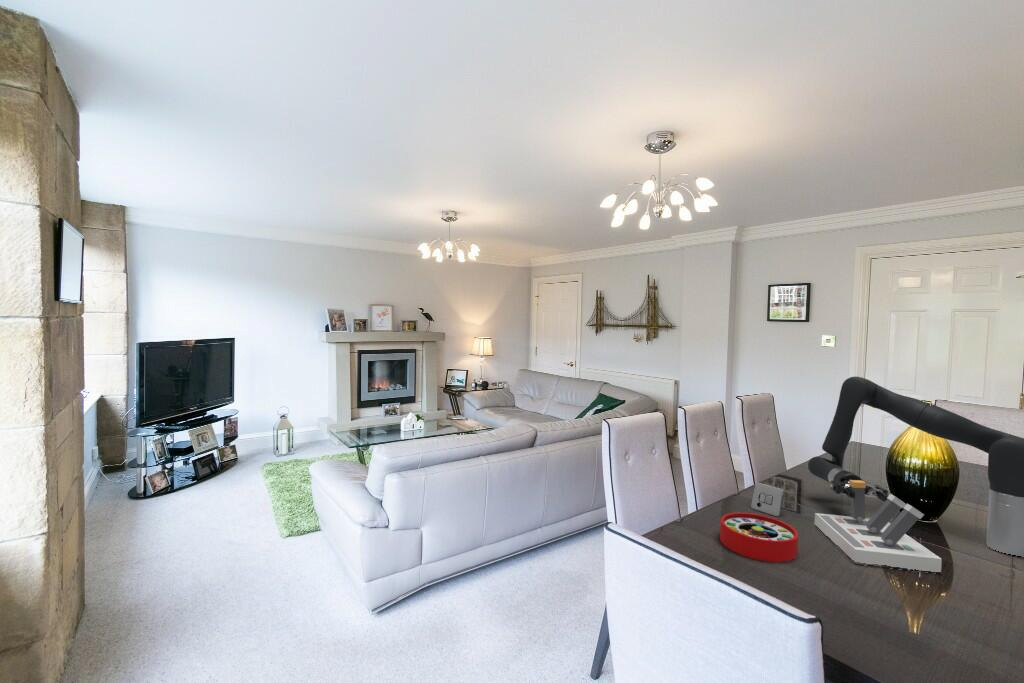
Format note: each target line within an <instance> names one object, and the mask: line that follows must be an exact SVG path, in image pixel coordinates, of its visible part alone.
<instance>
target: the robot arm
mask: <svg viewBox="0 0 1024 683" xmlns="http://www.w3.org/2000/svg"><path fill="white" fill-rule="evenodd" d="M837 401H838V402H837V407H836V408H835V412H834V413H835V414H834V416H833V418H832V421H831V424H830V427H829V429H828V430H827V434H826V436H825V438H824V441H823V444H822V445H821V449H822V451H824V452H825V453H827V454H829V455H830V456H831V457H832V458H831V459H827V458H825V457H822V456H814V457H812V458H810V459H809V460H808V461H807V467H808V470H809V472H810V473H811V474H812V475H813V476H815V477H817V478H819V479H822V480H823V481H826V482H827V483H828V484H830V488H829V489H830V490H831V491H833V492H834V493H835V494H838V495H840V494H841V493H842V495H843V496H847V497H849V498H850V499H851V498H855V491H853V490H851V488H850V485H849V480H862V481H863V479H862V478H861V477H860V475H859V476H858V475H857V474H855V473H854V472H852V471H850V470H848V469H846V468H844V467H843V465H844V456H845V453H846V451H847V448H848V445H849V444H850V441H851V439H852V434H853V430H854V423H855V418H856V415H857V414H858V411H859V409H860V407H861V406H862V405H865V406H869V407H872V408H874V409H878V410H881V411H883V412H886V413H888V414H889V415H891V416H893V417H895V418H896V419H898V420H899V421H900V422H903V423H905V424H906V425H909V426H911V427H913V428H915V429H917V430H920V431H922V432H925V433H926V434H929V435H932V436H935V437H938V438H941V439H944V440H949V441H952V442H956V443H961V444H964V445H966V446H967V445H968V446H970V447H972V448H975V449H978V450H980V451H983V452H984V453H987V454H988V457H987V459H988V460H987V479H988V483H989V488H988V489H989V490H988V509H987V510H988V511H987V513H988V514H987V527H986V538H985V539H986V546H987V548H989V547H990V549H991V550H994V551H995V550H996V552H998V551H999V552H998V553H1001V552H1002V553H1001V554H1004V553H1006V554H1005V555H1008V554H1011V555H1010V556H1012V555H1016V556H1015V557H1017V556H1021V557H1020V558H1024V437H1021V436H1018V435H1015V434H1011V433H1008V432H1003V431H1001V430H997V429H994V428H991V427H988V426H985V425H983V424H979V423H978V422H975V421H973V420H971V419H969V418H966V417H965V416H962V415H959V414H958V413H954V412H953V411H950V410H948V409H946V408H942V407H941V406H938V405H935V404H933V403H930V402H928V401H927V402H926V401H924V400H920V399H918V398H914V397H910V396H907V395H902V394H898V393H896V392H894V391H892V390H890V389H887V388H885V387H883V386H881V385H879V384H878V383H875V382H873V381H872V380H869V379H867V378H864V377H862V376H850V377H848V378H847V379H845V380H844V381H843V383H842V385H841V387H840V392H839V397H838V400H837ZM923 401H924V402H923ZM930 404H931V406H930ZM863 482H864V481H863ZM888 496H889V490H887V489H885V488H883V487H881V486H879V485H877V484H874V485H871V484H866V488H865V497H868V498H870V499H871V498H876V499H879V500H880V501H881V502H883V503H884V502H885V501H886V500H887V499H888V498H887V497H888Z"/></svg>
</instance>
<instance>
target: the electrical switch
mask: <svg viewBox="0 0 1024 683" xmlns="http://www.w3.org/2000/svg"><path fill="white" fill-rule="evenodd" d="M752 494H753V495H752V498H751V499H752V500H751V504H750V507H751V509H752V510H756V511H758V512H759V511H760V512H762V513H765V514H767V515H771V516H773V517H777V516H778V517H779V516H780V515H781V514H782V508H783V503H784V498H785V491H784V489H783V488H780V487H775V486H773V485H768V484H765V483H762V482H755V485H754V489H753V493H752Z"/></svg>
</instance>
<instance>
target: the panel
mask: <svg viewBox="0 0 1024 683" xmlns="http://www.w3.org/2000/svg"><path fill="white" fill-rule="evenodd" d="M870 518H871V517H870ZM870 518H869V517H865V519H863V521H862V522H858V521H857V520H856V519H854V518H852V517H851V515H850V516H848V515H838V514H829V513H827V514H826V513H818V512H817V513H816V512H815V513H814V526H815V525H816V526H817V527H818V528H819V529H820V530H821V531H822V532H823V533H824V534H825V535H826V536H828V537H829V538H830V539H831V540H832V541H833V542H834V543H835V544H836V545H838V546H839V547H840V548H841V549H842V550H843V551H844V552H845V553H846V554H847V555H848V556H849V557H850V558H851V559H852V560H854V561H855V562H860V563H866V564H878V565H887V566H891V567H900V568H910V569H916V570H922V571H931V572H941V573H942V558H941V557H940V556H938V555H937V554H935V553H933V552H932V551H931V550H929V548H926V547H925V546H924V545H923V544H921V543H919V542H918V541H916V540H915V539H914V538H912V537H911V536H909V535H907V534H906V533H905V534H904V536H903V537H902V538H901V539H900V540H899V541H898V542H897V543H896V544H895V545H888V544H886V543H885V542H884V541H883V540H882V539H881V537H882V536H880V535H881V534H882V533H883V532H884V531H885V530H886V528H887V527H888V526H889V525H890V524H891V523H892V522H890V521H889V522H888V523H887V524H886V525H885V527H884V528H883V529H882V530H881V531H880V532H879V533H877V532H876V533H872V532H871V531H870V530H869V529H867V527H866V526H867V525H866V523H867V521H868V520H869V519H870ZM816 526H815V527H816ZM817 527H816V528H817ZM818 528H817V529H818ZM819 529H818V530H819ZM820 530H819V531H820ZM821 531H820V532H821ZM822 532H821V533H822ZM823 533H822V534H823ZM824 534H823V535H824ZM825 535H824V536H825ZM826 536H825V537H826Z"/></svg>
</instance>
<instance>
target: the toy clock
mask: <svg viewBox="0 0 1024 683" xmlns="http://www.w3.org/2000/svg"><path fill="white" fill-rule="evenodd" d="M719 531H720V534H719V536H720V537H719V540H720V542H721V543H722V545H724V547H726V548H728V549H729V550H730V551H732V552H734V553H736V554H739V555H741V556H743V557H747V558H750V559H753V560H757V561H762V562H763V561H764V562H770V563H783V562H782V561H787V562H790V561H789V560H791V561H793V560H795V559H796V558H797V557H798V548H799V547H798V546H799V533H798V531H797V530H796V528H794V527H793V526H791V525H790V524H787V523H786V522H784V521H782V520H779V519H776V518H773V517H769V516H766V515H763V514H757V513H749V512H732V513H731V512H730V513H726V514H724V515H722V517H721V518H720V530H719ZM796 556H797V557H796ZM795 557H796V558H795ZM794 558H795V559H794ZM792 559H793V560H792Z"/></svg>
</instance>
